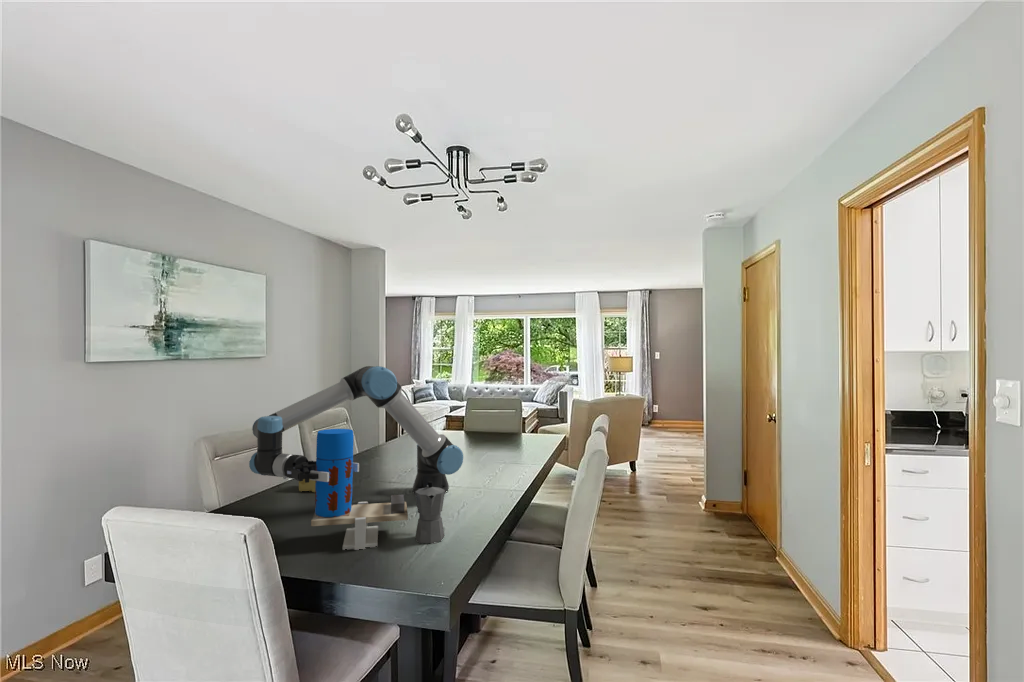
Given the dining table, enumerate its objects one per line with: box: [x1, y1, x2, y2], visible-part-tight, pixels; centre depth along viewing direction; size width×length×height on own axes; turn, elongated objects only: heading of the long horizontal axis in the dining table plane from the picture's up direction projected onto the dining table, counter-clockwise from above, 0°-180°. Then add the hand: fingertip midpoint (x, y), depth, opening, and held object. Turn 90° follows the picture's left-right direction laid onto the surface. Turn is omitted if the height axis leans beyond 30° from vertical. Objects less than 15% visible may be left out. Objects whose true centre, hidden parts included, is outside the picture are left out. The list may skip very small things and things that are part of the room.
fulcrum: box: [342, 501, 379, 551], centre depth 157 cm, size 10×18×9 cm, turn 14°
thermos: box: [314, 428, 355, 517], centre depth 155 cm, size 11×11×25 cm
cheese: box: [298, 479, 316, 493], centre depth 214 cm, size 10×11×10 cm
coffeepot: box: [414, 481, 446, 544], centre depth 158 cm, size 15×9×18 cm, turn 13°
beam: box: [310, 494, 409, 527], centre depth 157 cm, size 28×14×5 cm, turn 104°
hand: (344, 472), depth 154 cm, fingers open, 13 cm apart
